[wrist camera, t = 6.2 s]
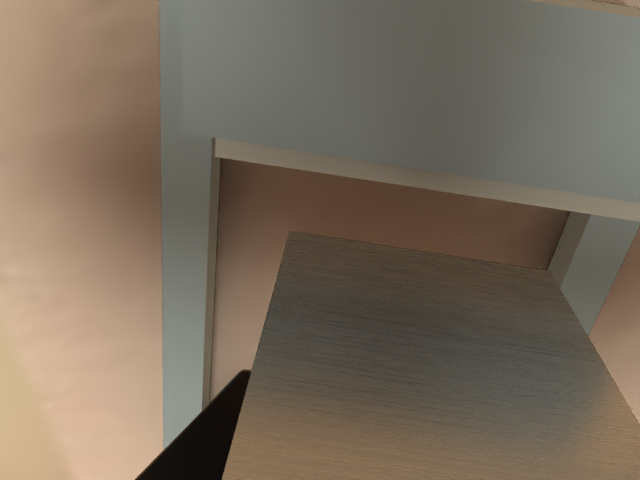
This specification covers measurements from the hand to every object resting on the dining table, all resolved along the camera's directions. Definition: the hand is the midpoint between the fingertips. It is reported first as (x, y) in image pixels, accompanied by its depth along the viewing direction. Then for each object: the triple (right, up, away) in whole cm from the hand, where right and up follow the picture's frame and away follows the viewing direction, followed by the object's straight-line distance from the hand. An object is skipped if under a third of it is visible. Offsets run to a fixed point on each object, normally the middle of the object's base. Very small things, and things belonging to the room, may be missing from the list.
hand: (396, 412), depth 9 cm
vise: (0, +1, +6) cm, 7 cm away
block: (0, +1, +1) cm, 1 cm away
